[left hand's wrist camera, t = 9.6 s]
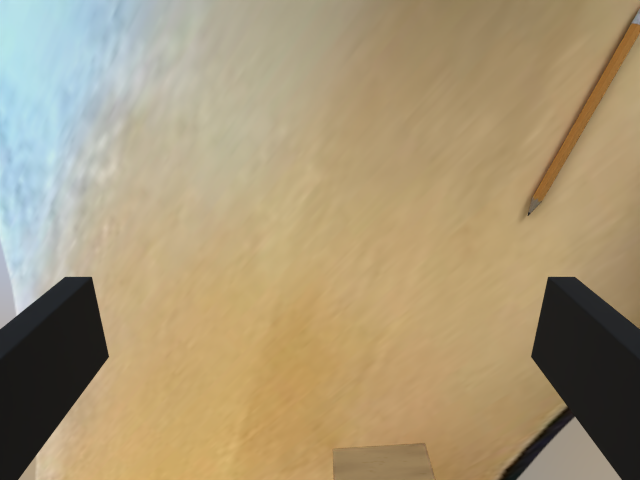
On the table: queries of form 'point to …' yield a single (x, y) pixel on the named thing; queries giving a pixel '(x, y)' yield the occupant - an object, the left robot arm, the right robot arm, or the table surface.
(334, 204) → the table surface
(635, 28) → the pencil
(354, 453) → the box
